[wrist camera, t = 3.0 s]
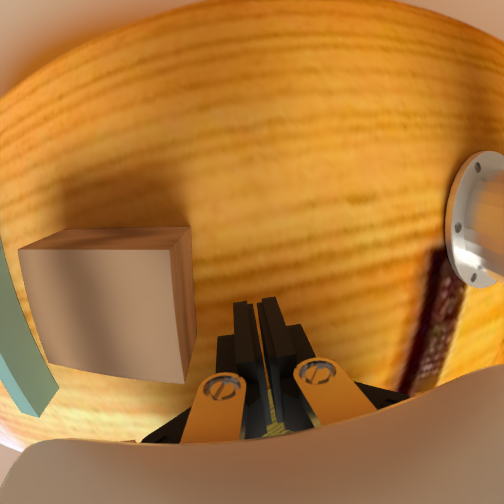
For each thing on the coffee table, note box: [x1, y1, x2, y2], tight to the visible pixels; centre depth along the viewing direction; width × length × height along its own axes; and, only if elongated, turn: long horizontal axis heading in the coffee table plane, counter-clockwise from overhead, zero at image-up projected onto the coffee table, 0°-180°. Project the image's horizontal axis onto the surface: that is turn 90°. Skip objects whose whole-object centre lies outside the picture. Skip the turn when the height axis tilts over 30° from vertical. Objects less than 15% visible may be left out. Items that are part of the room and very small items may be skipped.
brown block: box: [18, 227, 197, 384], centre depth 16 cm, size 10×8×6 cm
